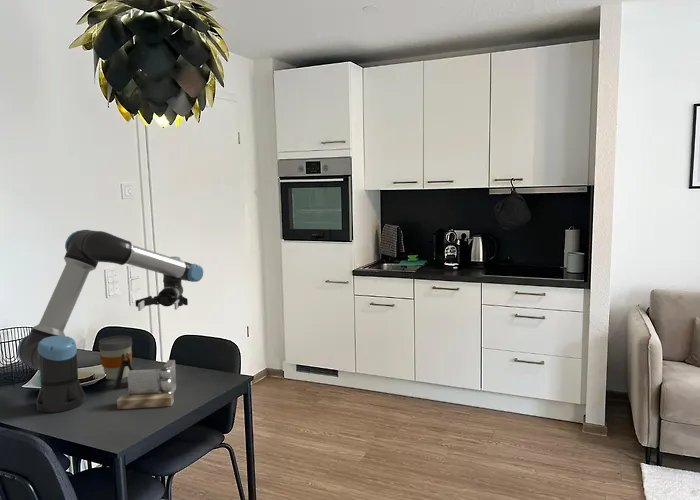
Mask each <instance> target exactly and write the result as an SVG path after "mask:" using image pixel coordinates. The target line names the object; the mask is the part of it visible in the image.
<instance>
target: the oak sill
mask: <svg viewBox="0 0 700 500" xmlns="http://www.w3.org/2000/svg"><path fill="white" fill-rule="evenodd" d="M174 398H175V397H174V393H165V394H147V395H129V394H128V395H120V396H119V398H117V400H116V406H117V410H126V409H128V410H129V409H143V408H160V407H162V408H163V407H172V406H173V403H174V401H175V399H174Z"/></svg>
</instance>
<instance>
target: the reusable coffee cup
mask: <svg viewBox="0 0 700 500" xmlns="http://www.w3.org/2000/svg"><path fill="white" fill-rule="evenodd" d="M132 346H133V340H132V337H131V336H129V335H113V336H109V337H105V338H104V337H103V338H102V339H100V340H99V341H98V350H99V353H100V354H99V358H100V363H101V367H102V368H103V371H104V375H105V374H106V377H105V379H107V380H116V377H117V374H118V371H119V368H120V365H121V362H122V359H121V356H122V354H124V356H125V358H124V359H123V360H127V359H128V358H127V355H126V353H128V354H129V355H130V362H131V363H132V359H133V357H132V356H133V350H132ZM128 372H129V368H128V366H125V367H124V371H123V376H122V379H124V378H126V377H127V378H128Z"/></svg>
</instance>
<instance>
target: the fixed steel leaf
mask: <svg viewBox="0 0 700 500" xmlns="http://www.w3.org/2000/svg"><path fill="white" fill-rule="evenodd" d="M169 378H171V369H170V368H168V367H164V366H162V367H161V368H155V369H154V368H153V369H134V370H129V372H128V376H127V382H128V387H127V389H128V390H127V391H128V396H129V395H147V394H165V393H172V391H169V392H160V379H169Z"/></svg>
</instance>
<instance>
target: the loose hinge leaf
mask: <svg viewBox="0 0 700 500" xmlns="http://www.w3.org/2000/svg"><path fill="white" fill-rule="evenodd" d="M163 367H168V368H170V369H171V378H169V379H160V378H159V391H160V392H169V391H172V393H173V394H174V393H175V392H176V389H177V376H176V373H177V372H176V360H175V359H167V361H166V362H165V364H164V366H163Z"/></svg>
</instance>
